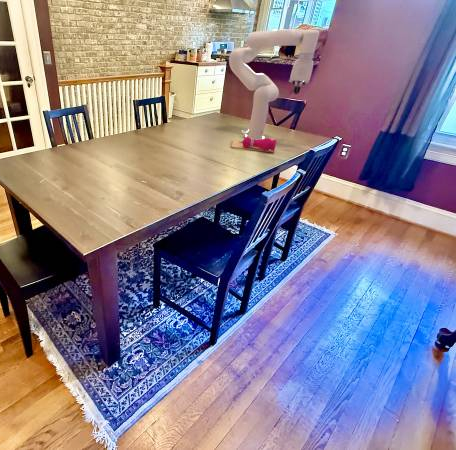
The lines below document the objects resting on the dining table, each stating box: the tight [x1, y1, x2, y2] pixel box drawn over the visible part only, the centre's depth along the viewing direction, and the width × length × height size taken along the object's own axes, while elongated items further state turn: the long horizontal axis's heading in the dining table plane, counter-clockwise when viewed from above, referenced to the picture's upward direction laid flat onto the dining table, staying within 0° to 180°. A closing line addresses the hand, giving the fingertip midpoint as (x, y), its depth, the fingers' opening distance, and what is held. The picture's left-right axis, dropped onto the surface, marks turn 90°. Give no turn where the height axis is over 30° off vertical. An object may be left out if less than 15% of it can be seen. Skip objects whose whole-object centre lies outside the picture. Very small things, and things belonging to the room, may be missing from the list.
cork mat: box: [231, 139, 274, 154], centre depth 185 cm, size 24×14×1 cm, turn 73°
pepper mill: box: [239, 137, 277, 152], centre depth 178 cm, size 7×7×20 cm
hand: (295, 94), depth 172 cm, fingers closed
